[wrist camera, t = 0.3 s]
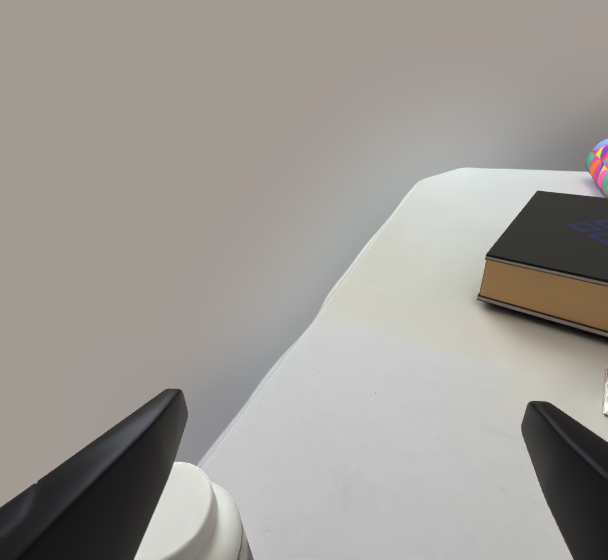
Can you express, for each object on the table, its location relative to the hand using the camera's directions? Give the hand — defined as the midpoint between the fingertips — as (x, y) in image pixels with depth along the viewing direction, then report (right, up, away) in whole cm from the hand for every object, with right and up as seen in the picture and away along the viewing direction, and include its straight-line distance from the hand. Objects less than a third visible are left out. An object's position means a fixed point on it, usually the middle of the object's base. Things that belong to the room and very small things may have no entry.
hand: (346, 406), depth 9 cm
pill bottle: (-6, -14, +10) cm, 19 cm away
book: (+33, +3, +34) cm, 48 cm away
